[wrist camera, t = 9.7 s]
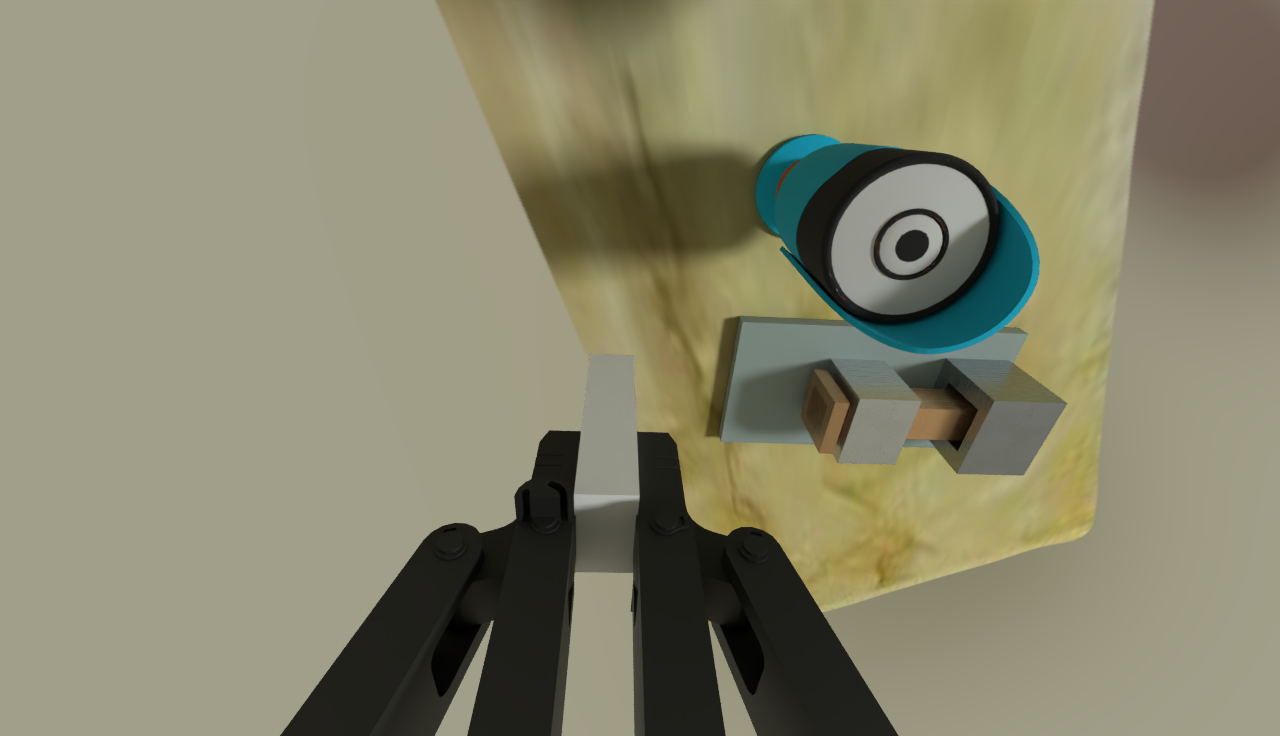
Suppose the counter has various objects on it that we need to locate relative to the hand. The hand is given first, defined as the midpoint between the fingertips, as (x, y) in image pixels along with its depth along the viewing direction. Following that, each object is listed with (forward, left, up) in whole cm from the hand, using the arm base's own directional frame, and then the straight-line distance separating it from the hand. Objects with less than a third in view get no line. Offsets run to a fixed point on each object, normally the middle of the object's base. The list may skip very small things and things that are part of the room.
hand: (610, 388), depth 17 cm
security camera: (-3, +14, -25) cm, 28 cm away
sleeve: (+15, +22, -23) cm, 35 cm away
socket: (+15, +33, -23) cm, 43 cm away
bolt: (+14, +25, -22) cm, 37 cm away
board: (+15, +24, -24) cm, 37 cm away
